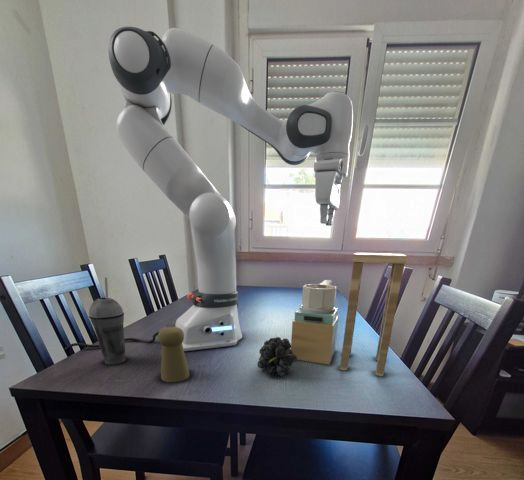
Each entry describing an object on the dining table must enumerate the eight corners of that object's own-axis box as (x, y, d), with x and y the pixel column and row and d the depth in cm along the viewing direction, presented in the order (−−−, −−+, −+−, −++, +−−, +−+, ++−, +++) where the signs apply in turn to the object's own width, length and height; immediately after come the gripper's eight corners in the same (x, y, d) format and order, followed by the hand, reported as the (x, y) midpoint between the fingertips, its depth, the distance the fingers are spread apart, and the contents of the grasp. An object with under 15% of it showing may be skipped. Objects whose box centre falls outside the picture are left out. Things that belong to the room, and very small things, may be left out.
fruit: (268, 321, 71) (265, 339, 57) (299, 332, 72) (303, 353, 58) (257, 351, 74) (251, 375, 60) (286, 362, 75) (287, 388, 61)
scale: (329, 364, 69) (335, 313, 65) (290, 358, 73) (293, 309, 68) (334, 351, 78) (340, 304, 73) (299, 346, 81) (302, 301, 77)
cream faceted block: (331, 311, 66) (334, 289, 64) (299, 308, 69) (300, 287, 67) (340, 298, 83) (342, 280, 81) (313, 296, 85) (315, 278, 83)
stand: (384, 376, 63) (407, 255, 54) (338, 369, 67) (353, 254, 57) (383, 358, 74) (402, 253, 64) (343, 353, 77) (356, 252, 68)
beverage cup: (94, 360, 69) (76, 277, 62) (124, 353, 74) (110, 275, 67) (105, 369, 65) (87, 280, 57) (136, 360, 70) (123, 278, 62)
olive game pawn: (155, 379, 60) (148, 330, 56) (171, 368, 66) (166, 323, 62) (179, 384, 59) (174, 333, 55) (194, 372, 64) (190, 325, 60)
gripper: (325, 178, 87) (321, 226, 92) (312, 161, 70) (308, 222, 75) (346, 177, 85) (341, 226, 90) (338, 159, 68) (332, 222, 72)
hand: (326, 224), depth 82 cm, fingers open, 8 cm apart
